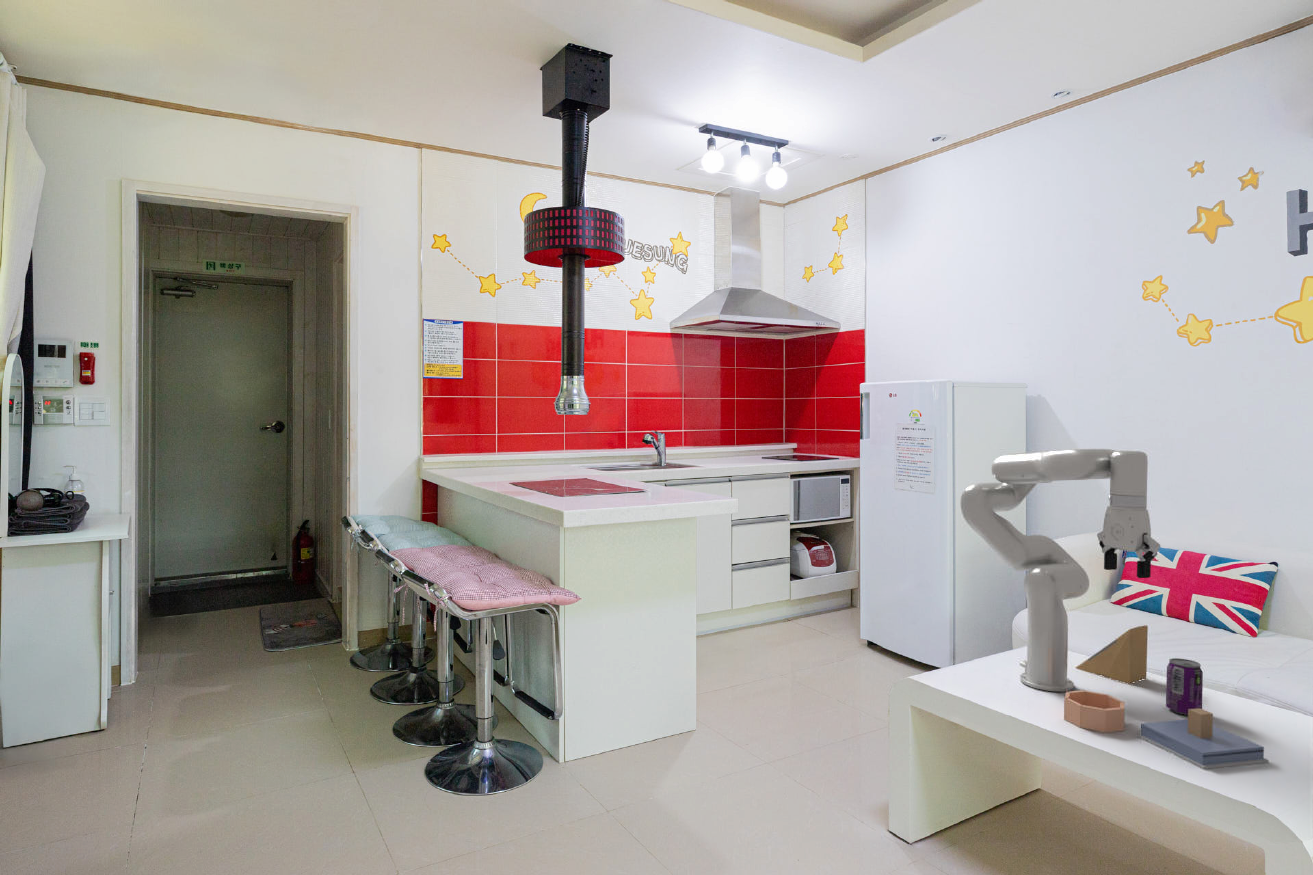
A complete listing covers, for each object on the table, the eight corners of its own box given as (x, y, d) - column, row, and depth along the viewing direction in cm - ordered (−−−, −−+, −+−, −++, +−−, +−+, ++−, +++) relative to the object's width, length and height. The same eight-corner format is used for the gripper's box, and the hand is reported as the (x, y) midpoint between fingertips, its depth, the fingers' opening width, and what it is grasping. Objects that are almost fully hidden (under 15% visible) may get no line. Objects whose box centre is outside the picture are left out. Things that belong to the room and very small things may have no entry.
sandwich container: (1091, 663, 216) (1092, 612, 216) (1147, 679, 203) (1148, 624, 202) (1073, 668, 212) (1074, 615, 212) (1129, 685, 199) (1130, 628, 198)
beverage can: (1208, 718, 176) (1209, 667, 175) (1174, 716, 177) (1175, 665, 177) (1192, 707, 183) (1193, 658, 182) (1160, 704, 184) (1161, 656, 184)
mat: (1137, 736, 165) (1137, 733, 165) (1197, 730, 169) (1197, 728, 169) (1203, 769, 150) (1203, 766, 150) (1268, 762, 153) (1268, 759, 153)
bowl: (1053, 713, 178) (1053, 692, 178) (1096, 709, 181) (1096, 689, 180) (1091, 733, 167) (1092, 711, 166) (1137, 729, 169) (1137, 707, 169)
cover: (1140, 734, 165) (1141, 700, 165) (1197, 729, 168) (1197, 696, 168) (1202, 765, 150) (1203, 728, 150) (1263, 758, 153) (1264, 722, 153)
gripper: (1086, 498, 187) (1085, 567, 187) (1145, 506, 170) (1143, 581, 170) (1112, 498, 188) (1111, 566, 188) (1172, 506, 171) (1171, 580, 172)
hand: (1126, 573), depth 179 cm, fingers open, 9 cm apart
